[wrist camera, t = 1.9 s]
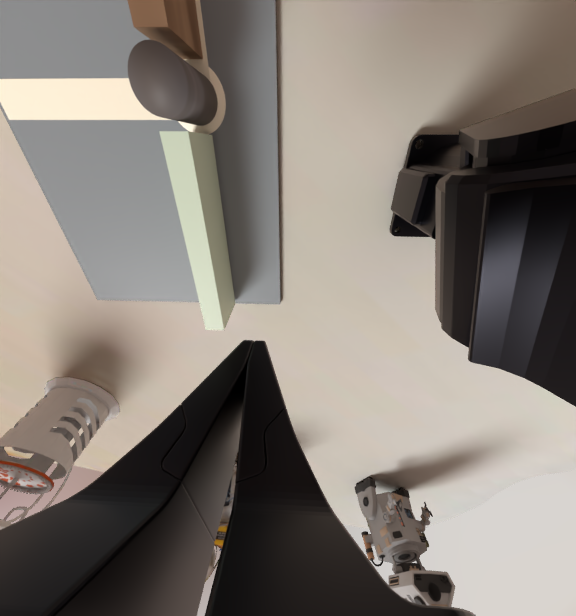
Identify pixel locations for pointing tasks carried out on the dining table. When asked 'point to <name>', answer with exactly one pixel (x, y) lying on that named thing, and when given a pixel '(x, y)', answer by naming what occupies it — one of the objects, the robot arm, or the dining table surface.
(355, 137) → the dining table surface
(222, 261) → the swing panel
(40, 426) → the french press
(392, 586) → the figurine
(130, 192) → the card
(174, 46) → the brown wooden bar
